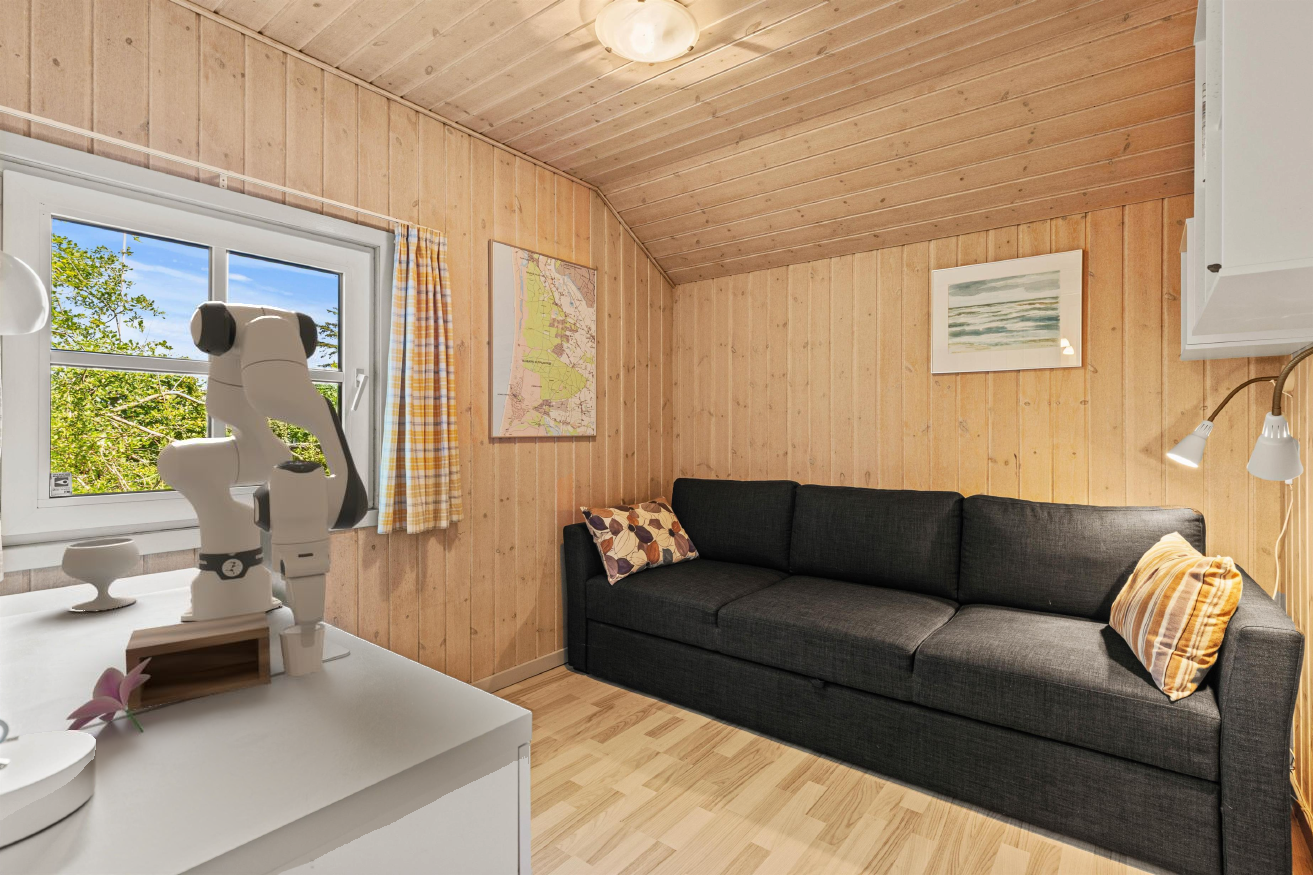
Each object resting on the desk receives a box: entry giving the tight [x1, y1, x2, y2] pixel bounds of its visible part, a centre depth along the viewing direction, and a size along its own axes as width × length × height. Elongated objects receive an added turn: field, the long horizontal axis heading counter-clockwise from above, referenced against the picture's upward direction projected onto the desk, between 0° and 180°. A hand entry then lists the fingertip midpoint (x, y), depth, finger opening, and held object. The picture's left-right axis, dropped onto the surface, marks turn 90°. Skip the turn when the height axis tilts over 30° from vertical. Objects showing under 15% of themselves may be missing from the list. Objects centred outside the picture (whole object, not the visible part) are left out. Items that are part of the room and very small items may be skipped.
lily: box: [65, 657, 152, 733], centre depth 89 cm, size 12×12×10 cm
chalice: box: [61, 537, 141, 612], centre depth 154 cm, size 14×14×15 cm
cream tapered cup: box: [278, 622, 326, 677], centre depth 111 cm, size 7×7×7 cm
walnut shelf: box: [125, 611, 272, 712], centre depth 105 cm, size 11×18×9 cm, turn 124°
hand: (304, 638), depth 111 cm, fingers open, 8 cm apart
